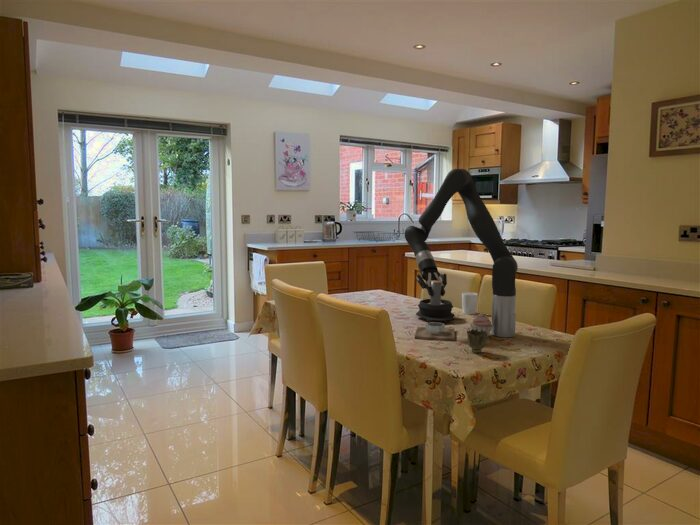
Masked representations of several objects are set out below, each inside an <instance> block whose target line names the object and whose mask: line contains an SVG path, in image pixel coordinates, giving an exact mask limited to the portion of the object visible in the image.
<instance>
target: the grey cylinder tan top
mask: <svg viewBox="0 0 700 525" xmlns="http://www.w3.org/2000/svg"><path fill="white" fill-rule="evenodd" d="M441 282H442V280H441V281H440V280H431V286H430V287H432V290H433V293H434V295H433V297H431V296H430V295H429V296H430V298H429V299H430V305H435V306H438V305H441V299H442V296H441Z"/></svg>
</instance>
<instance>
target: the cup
mask: <svg viewBox="0 0 700 525" xmlns="http://www.w3.org/2000/svg"><path fill="white" fill-rule="evenodd" d="M487 334H488V332H487V333H486V331H483V330H481V331H479V332H478V330H477V329H476V330H473V329H472V328H471V330H470V329H468V330H466V336H467V337H466V338H467V343H468V346H469V347H470V348H471V352H472V353H473V354H481V353H482V352H483V350H482V349H484V348H485V347H486V344H487V340H488V337H487Z"/></svg>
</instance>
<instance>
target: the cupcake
mask: <svg viewBox="0 0 700 525" xmlns="http://www.w3.org/2000/svg"><path fill="white" fill-rule="evenodd" d="M469 326H470V327H471V330H472V329H473V330H476V329H477V330H478V332H479V331H481V330H483V331H486V333H487V332H488V334H487V338H489V337H490V334H491V329H492V327H493V326H492V320H490V318H489V317H488V315H486V314H484V313H483V312H481V313H478V315H477V316H476V317H474V318H473V319H472V323H470V324H469Z"/></svg>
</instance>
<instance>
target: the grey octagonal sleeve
mask: <svg viewBox="0 0 700 525" xmlns="http://www.w3.org/2000/svg"><path fill="white" fill-rule="evenodd" d="M425 327H426V333H428V334H431V335H441V334H444V328H446V327H445V323H443V322H440V321H431V322H426V324H425Z"/></svg>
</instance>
